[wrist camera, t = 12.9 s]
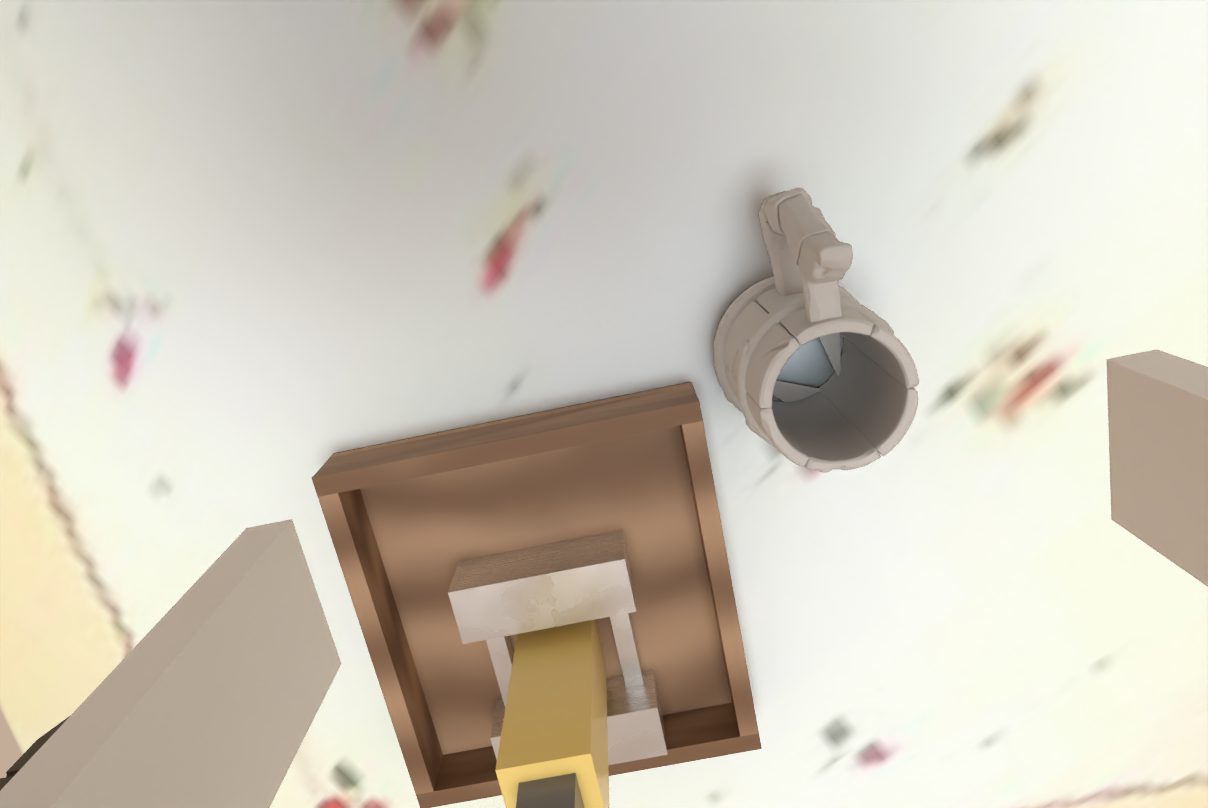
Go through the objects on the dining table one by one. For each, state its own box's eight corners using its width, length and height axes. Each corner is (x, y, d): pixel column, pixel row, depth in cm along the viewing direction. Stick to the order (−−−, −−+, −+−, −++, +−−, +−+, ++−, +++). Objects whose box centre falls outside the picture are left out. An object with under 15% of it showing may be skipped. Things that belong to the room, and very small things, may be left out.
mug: (722, 430, 43) (769, 528, 32) (683, 202, 40) (719, 220, 28) (867, 401, 43) (968, 491, 31) (840, 169, 39) (941, 173, 28)
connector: (520, 615, 45) (489, 806, 32) (591, 602, 45) (590, 789, 32) (536, 676, 47) (513, 886, 33) (605, 664, 46) (610, 870, 33)
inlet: (458, 560, 44) (447, 592, 41) (622, 529, 44) (624, 558, 41) (509, 741, 48) (503, 783, 44) (662, 713, 47) (667, 754, 44)
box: (333, 453, 43) (311, 478, 40) (690, 381, 42) (699, 401, 39) (432, 764, 49) (420, 809, 46) (749, 707, 48) (761, 748, 45)
